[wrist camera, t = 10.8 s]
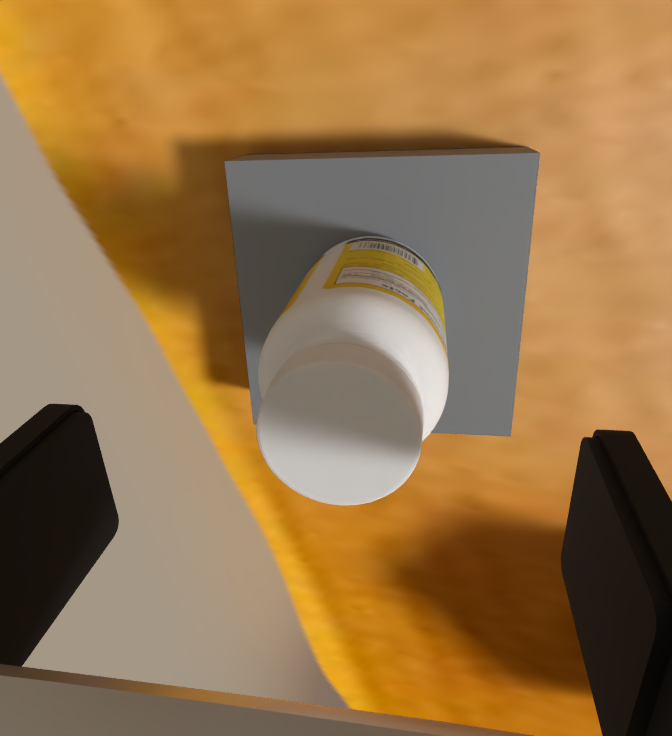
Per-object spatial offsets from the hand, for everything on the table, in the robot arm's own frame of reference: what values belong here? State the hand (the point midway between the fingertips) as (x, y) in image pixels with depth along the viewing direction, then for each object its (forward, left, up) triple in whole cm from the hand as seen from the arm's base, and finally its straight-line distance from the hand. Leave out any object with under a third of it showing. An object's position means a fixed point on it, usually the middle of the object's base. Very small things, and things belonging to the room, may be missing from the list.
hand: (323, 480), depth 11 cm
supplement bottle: (+1, 0, -13) cm, 13 cm away
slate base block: (+1, 0, -15) cm, 15 cm away
